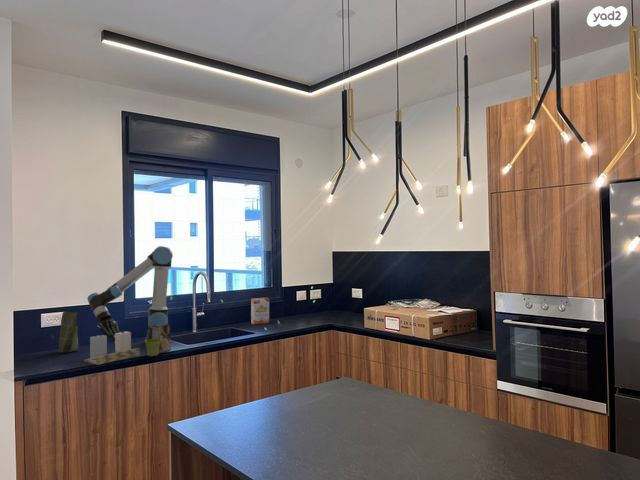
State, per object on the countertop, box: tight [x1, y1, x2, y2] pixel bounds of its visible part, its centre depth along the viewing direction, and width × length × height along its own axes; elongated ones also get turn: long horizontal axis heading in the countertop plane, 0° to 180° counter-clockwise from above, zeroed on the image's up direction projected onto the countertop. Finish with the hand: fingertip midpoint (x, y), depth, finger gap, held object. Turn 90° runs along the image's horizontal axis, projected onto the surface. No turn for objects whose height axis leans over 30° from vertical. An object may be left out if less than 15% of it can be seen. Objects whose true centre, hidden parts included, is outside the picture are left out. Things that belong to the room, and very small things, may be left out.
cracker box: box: [250, 297, 270, 325], centre depth 383 cm, size 14×6×21 cm, turn 119°
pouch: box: [57, 310, 79, 354], centre depth 287 cm, size 11×12×25 cm
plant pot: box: [144, 339, 161, 357], centre depth 276 cm, size 9×9×9 cm
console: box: [83, 347, 141, 366], centre depth 269 cm, size 26×14×4 cm, turn 147°
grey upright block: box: [89, 334, 108, 359], centre depth 265 cm, size 7×5×12 cm
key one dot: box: [114, 331, 132, 353], centre depth 275 cm, size 7×5×12 cm
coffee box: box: [152, 323, 172, 354], centre depth 287 cm, size 9×6×16 cm
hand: (118, 345), depth 277 cm, fingers closed
